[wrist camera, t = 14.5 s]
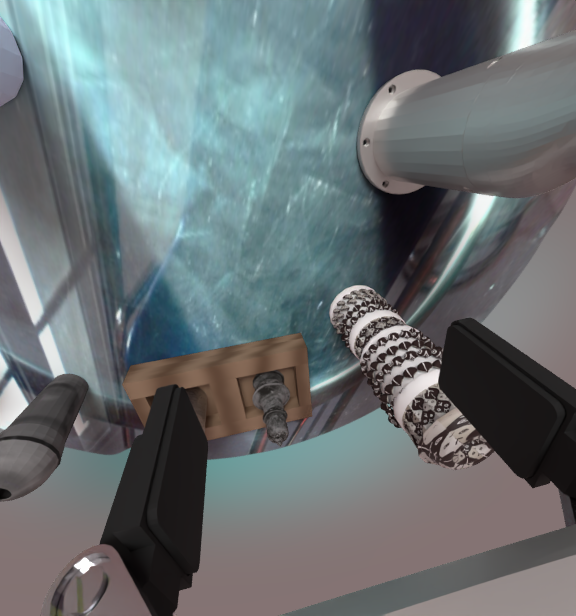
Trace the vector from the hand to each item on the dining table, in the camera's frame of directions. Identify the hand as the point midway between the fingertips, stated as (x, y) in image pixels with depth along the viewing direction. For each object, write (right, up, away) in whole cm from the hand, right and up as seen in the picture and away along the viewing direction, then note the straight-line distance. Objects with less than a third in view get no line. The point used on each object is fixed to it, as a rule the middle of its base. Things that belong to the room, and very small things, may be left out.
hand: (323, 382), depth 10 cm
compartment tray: (-11, -10, +37) cm, 40 cm away
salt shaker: (-4, -9, +37) cm, 38 cm away
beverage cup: (-33, -9, +32) cm, 47 cm away
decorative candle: (+9, +2, +35) cm, 37 cm away
